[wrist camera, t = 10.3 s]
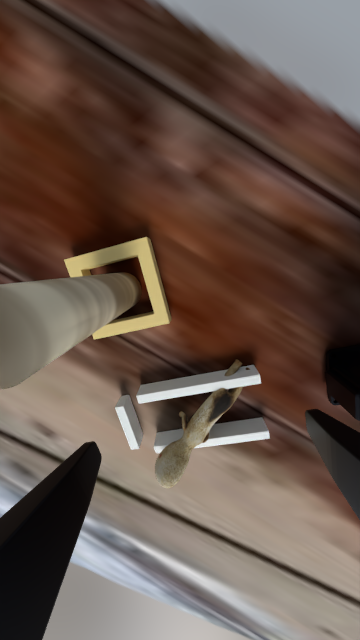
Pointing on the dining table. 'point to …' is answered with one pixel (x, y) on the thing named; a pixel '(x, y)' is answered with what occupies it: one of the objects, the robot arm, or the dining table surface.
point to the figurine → (194, 432)
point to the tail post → (56, 318)
